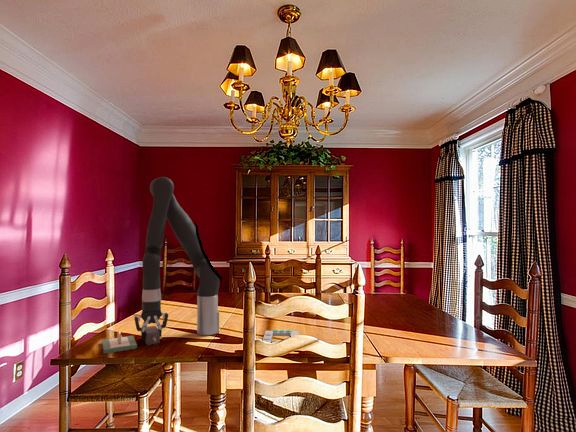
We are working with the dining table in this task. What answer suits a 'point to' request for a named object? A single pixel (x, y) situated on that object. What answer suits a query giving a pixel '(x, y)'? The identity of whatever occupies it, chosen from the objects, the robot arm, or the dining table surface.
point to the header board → (113, 345)
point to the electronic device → (269, 334)
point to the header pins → (119, 337)
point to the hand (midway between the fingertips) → (151, 339)
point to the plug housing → (152, 335)
